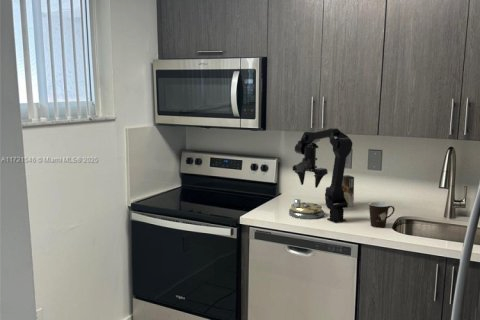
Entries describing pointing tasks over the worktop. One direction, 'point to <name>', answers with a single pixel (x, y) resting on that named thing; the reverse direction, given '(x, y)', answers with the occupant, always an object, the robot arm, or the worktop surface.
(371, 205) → the coffee mug
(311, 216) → the housing
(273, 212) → the worktop surface
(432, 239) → the worktop surface
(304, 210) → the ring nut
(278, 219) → the worktop surface
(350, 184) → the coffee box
